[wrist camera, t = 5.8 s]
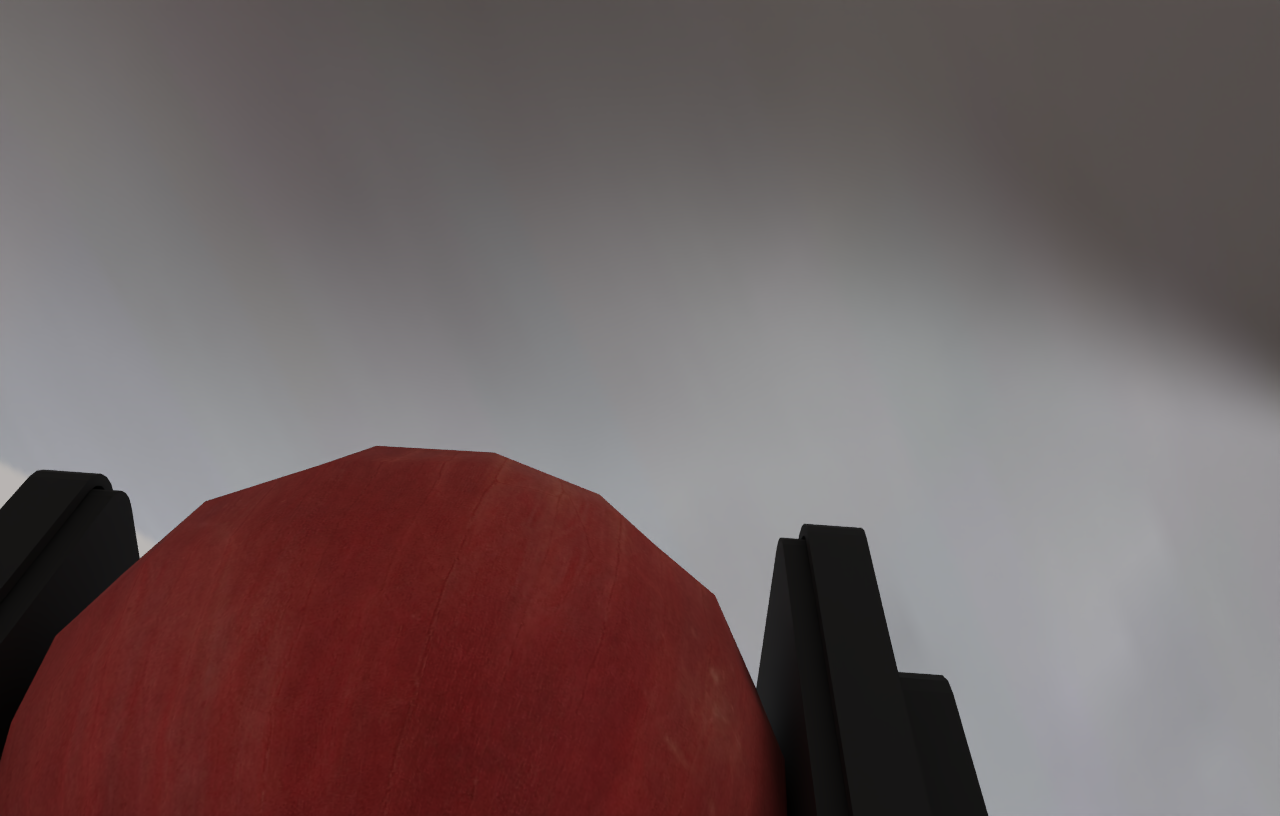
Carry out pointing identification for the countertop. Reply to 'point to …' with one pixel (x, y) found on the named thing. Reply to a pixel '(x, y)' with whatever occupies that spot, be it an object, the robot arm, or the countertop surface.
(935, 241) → the countertop surface
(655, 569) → the onion
